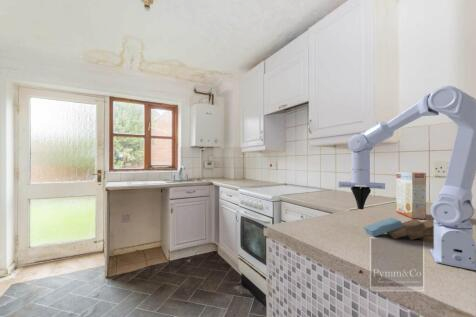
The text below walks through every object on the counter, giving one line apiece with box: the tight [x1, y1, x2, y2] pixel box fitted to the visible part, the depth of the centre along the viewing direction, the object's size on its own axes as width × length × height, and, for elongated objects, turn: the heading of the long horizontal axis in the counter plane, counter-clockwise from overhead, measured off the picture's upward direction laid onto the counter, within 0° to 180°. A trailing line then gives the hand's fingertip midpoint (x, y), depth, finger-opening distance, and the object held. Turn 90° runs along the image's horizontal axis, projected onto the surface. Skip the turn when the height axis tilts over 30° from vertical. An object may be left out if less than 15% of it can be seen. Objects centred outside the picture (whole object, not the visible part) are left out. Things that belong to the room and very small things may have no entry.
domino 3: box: [404, 219, 434, 241], centre depth 72 cm, size 2×5×10 cm
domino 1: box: [363, 217, 403, 238], centre depth 75 cm, size 2×5×10 cm
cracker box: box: [395, 171, 427, 220], centre depth 104 cm, size 14×6×21 cm, turn 168°
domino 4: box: [418, 233, 434, 243], centre depth 71 cm, size 2×5×10 cm
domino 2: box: [386, 218, 426, 240], centre depth 72 cm, size 2×5×10 cm
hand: (360, 208), depth 76 cm, fingers closed
